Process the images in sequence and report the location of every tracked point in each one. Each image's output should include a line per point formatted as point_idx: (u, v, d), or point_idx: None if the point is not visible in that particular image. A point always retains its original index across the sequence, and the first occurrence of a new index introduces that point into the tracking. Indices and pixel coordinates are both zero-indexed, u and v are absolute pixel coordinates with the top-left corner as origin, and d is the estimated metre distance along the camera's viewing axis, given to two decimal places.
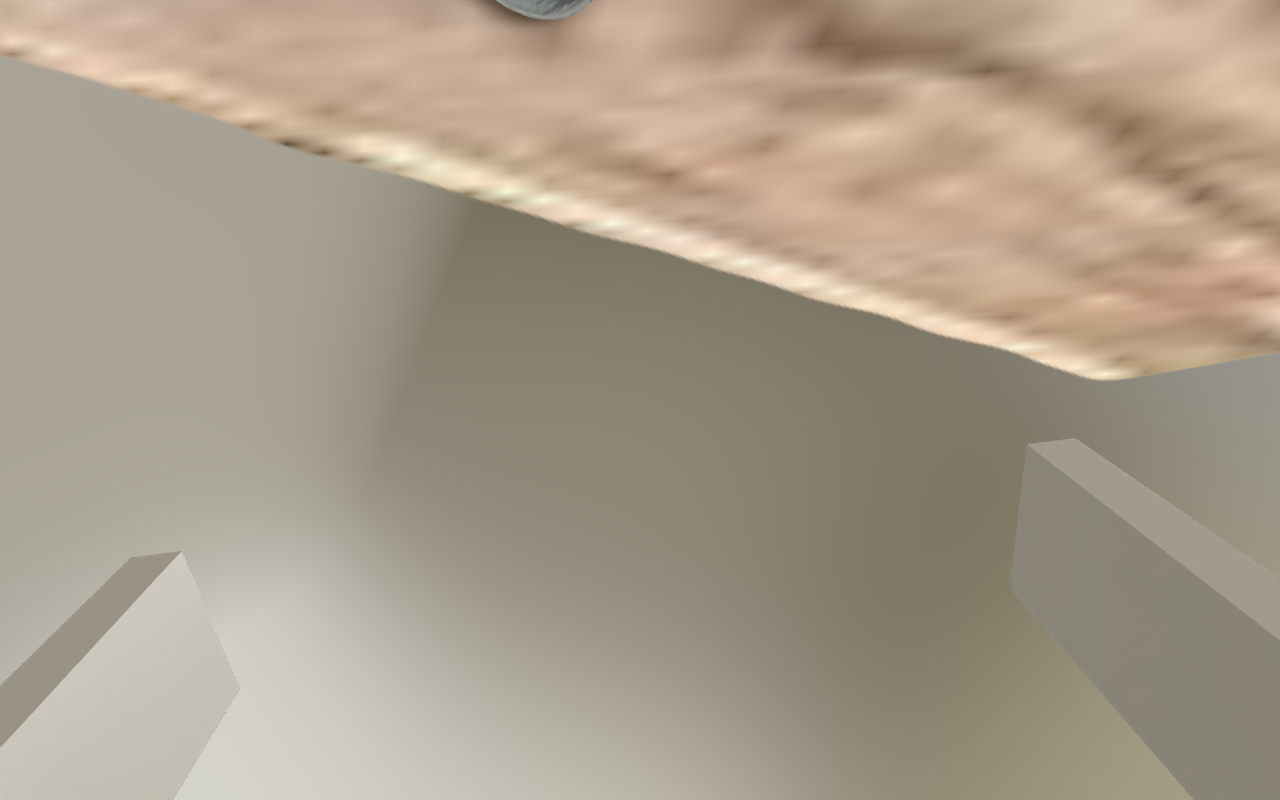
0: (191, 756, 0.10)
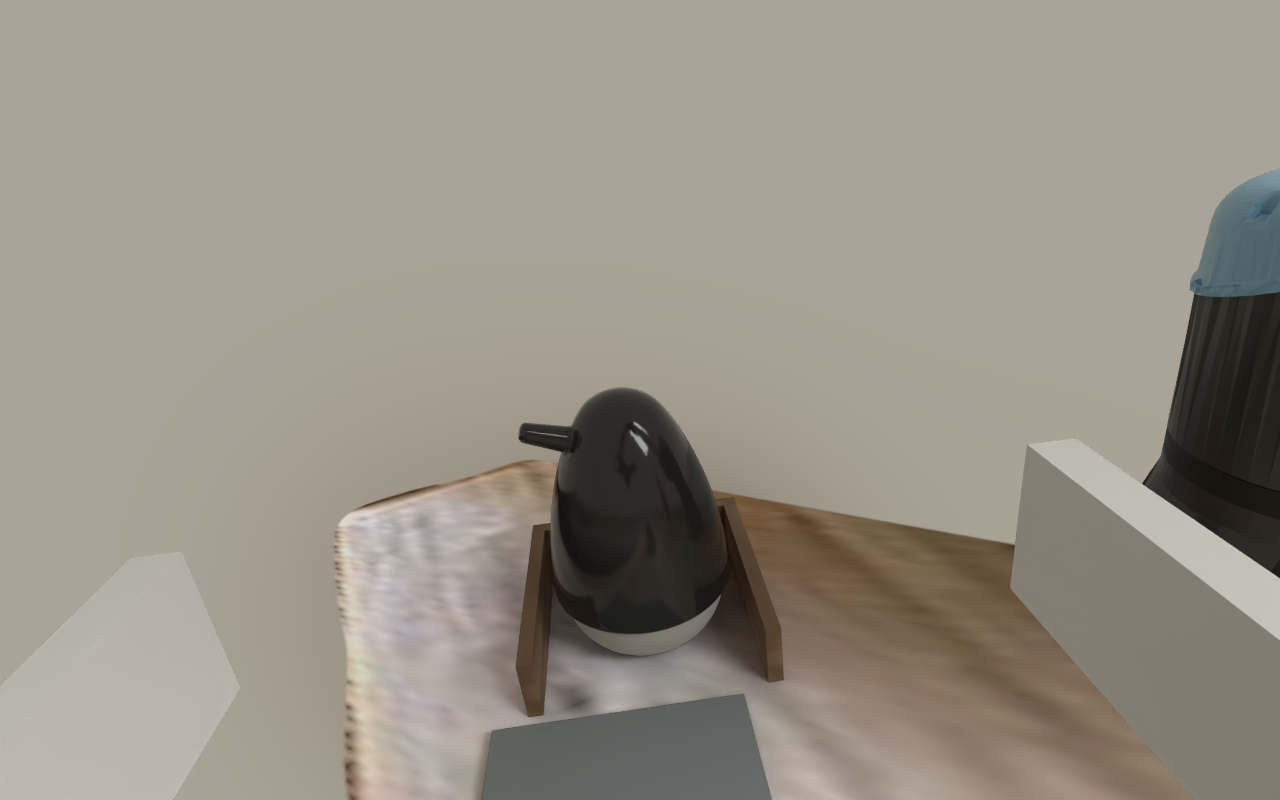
0: (191, 756, 0.10)
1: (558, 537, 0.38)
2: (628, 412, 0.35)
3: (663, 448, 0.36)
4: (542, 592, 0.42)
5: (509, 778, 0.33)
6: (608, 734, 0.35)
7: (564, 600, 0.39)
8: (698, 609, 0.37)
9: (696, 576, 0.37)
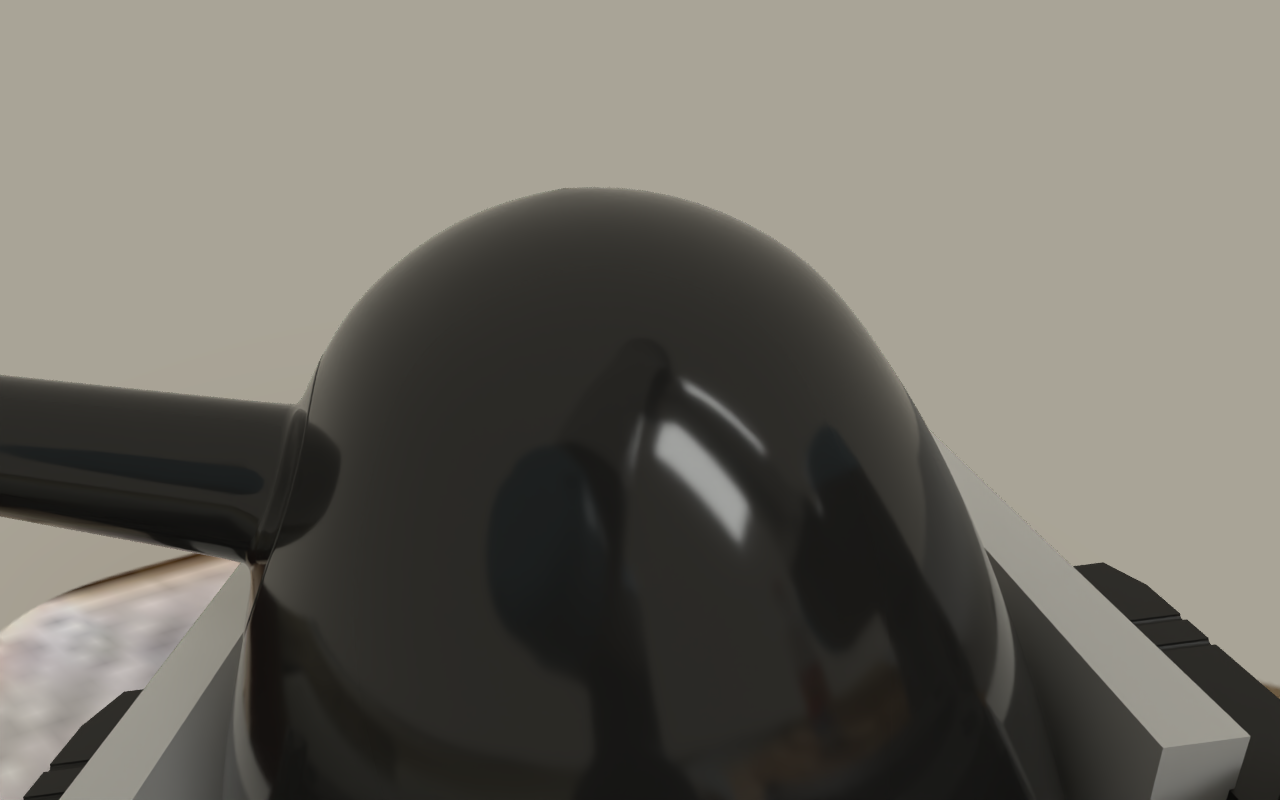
0: None
1: None
2: (649, 298, 0.05)
3: (910, 575, 0.05)
4: None
5: None
6: None
7: None
8: None
9: None
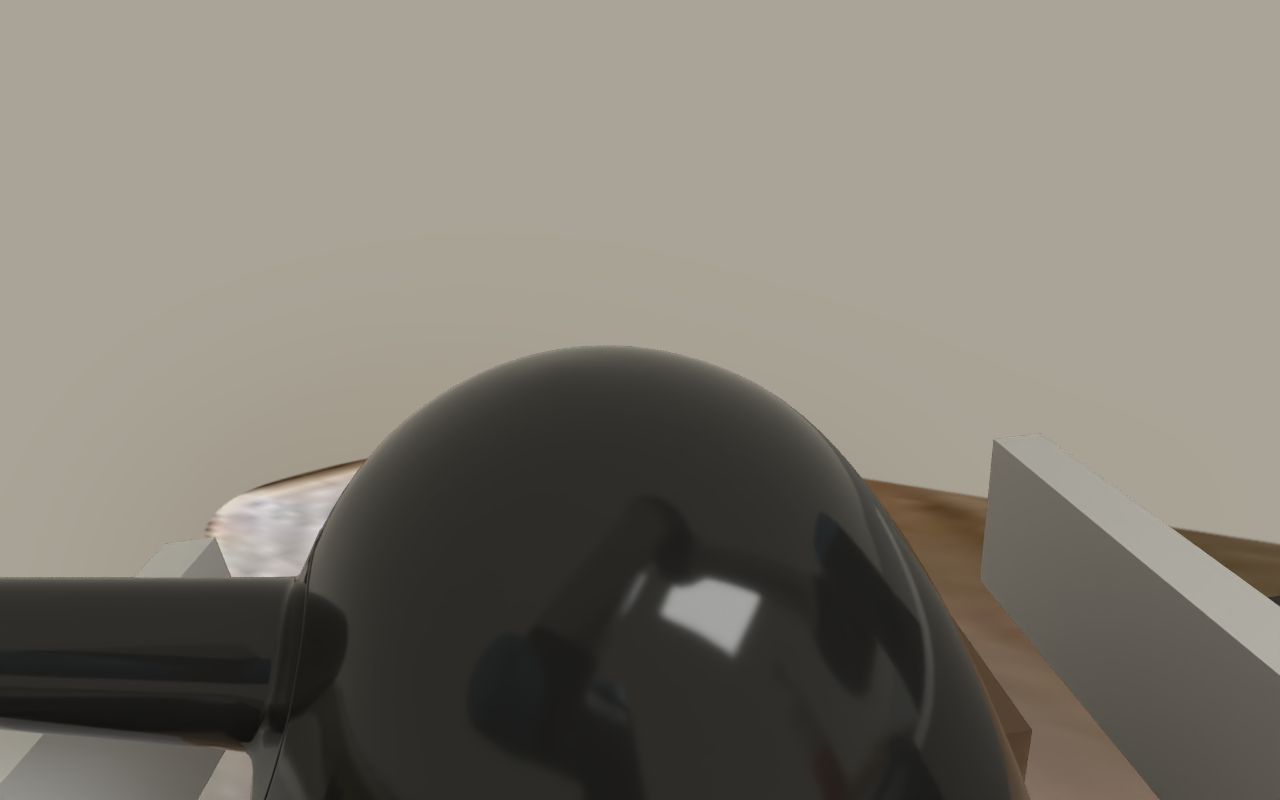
0: None
1: None
2: (649, 543, 0.04)
3: None
4: None
5: None
6: None
7: None
8: None
9: None
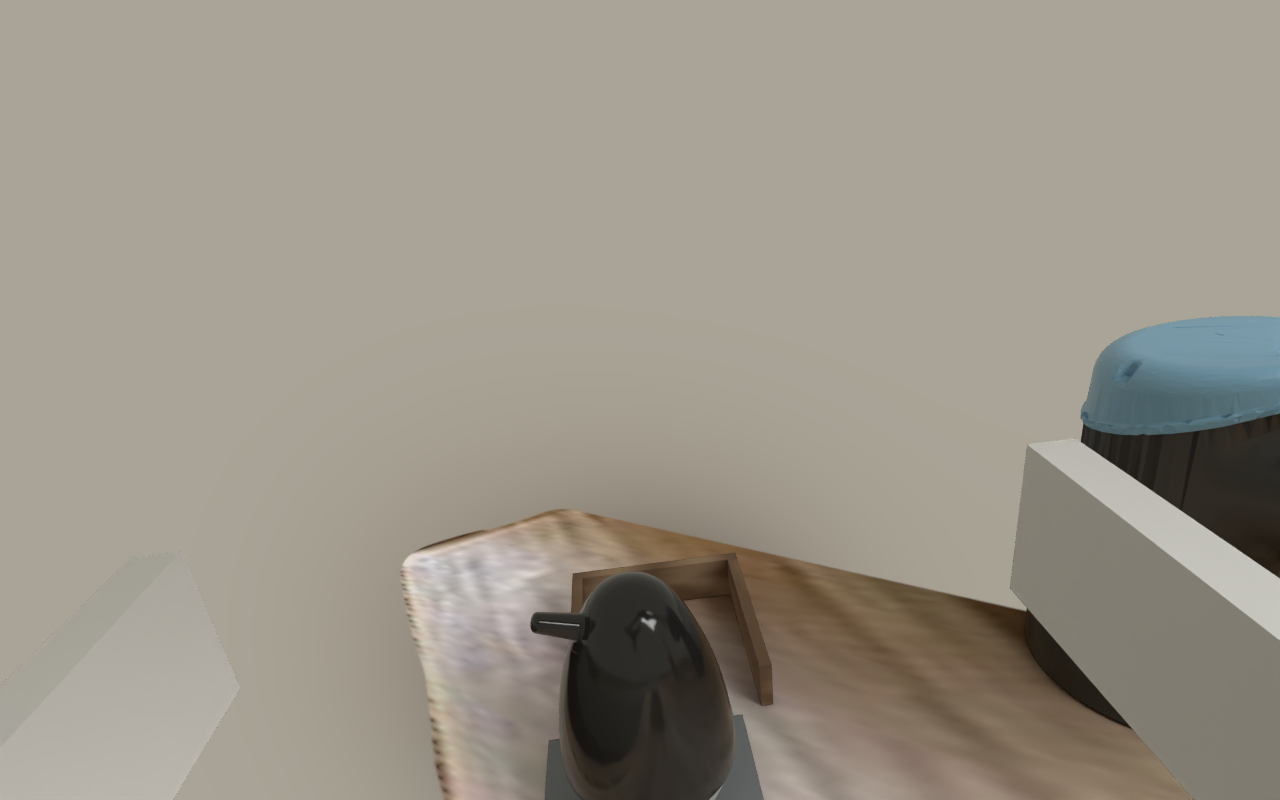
0: (191, 756, 0.10)
1: (567, 722, 0.38)
2: (639, 610, 0.36)
3: (673, 645, 0.36)
4: None
5: (565, 776, 0.44)
6: None
7: (572, 781, 0.39)
8: (705, 798, 0.38)
9: (704, 767, 0.37)
